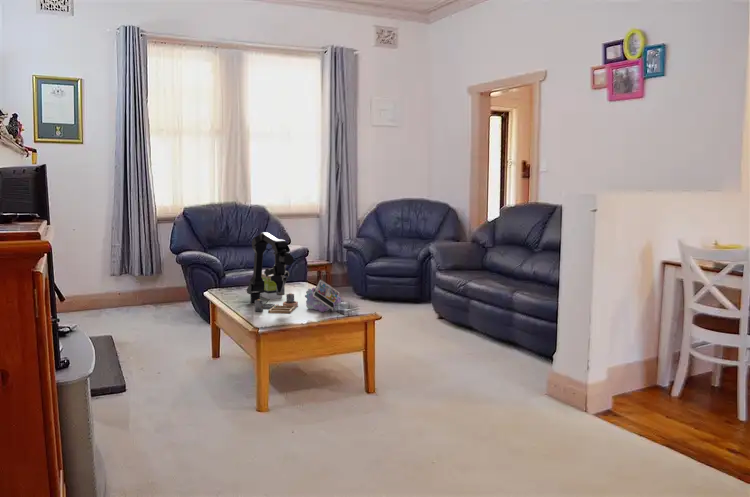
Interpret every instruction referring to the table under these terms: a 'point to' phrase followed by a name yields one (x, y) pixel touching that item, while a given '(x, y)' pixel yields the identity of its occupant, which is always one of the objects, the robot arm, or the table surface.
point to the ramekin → (290, 304)
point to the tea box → (269, 288)
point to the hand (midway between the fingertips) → (280, 291)
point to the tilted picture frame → (322, 297)
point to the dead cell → (290, 298)
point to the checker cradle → (269, 306)
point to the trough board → (281, 309)
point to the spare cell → (258, 305)
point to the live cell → (281, 290)
